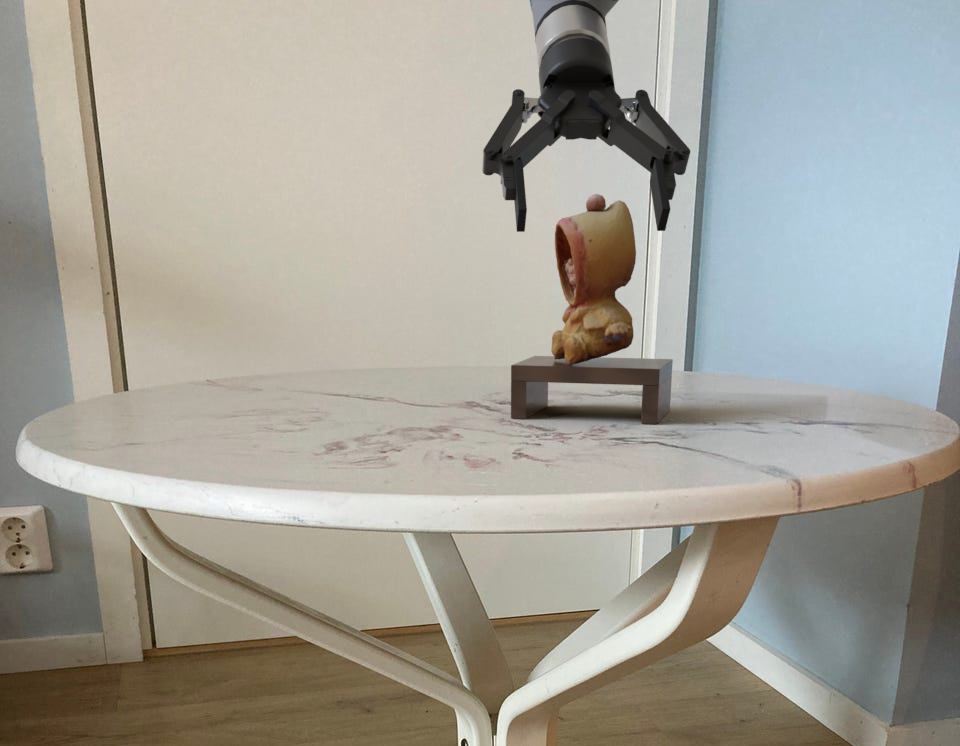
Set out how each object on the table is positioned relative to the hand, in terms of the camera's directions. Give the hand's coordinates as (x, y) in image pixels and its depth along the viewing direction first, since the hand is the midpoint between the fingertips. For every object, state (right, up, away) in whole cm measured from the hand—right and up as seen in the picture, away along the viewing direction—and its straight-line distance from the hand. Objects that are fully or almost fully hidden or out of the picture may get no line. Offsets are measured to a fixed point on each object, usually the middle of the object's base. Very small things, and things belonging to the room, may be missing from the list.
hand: (593, 220), depth 105 cm
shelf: (0, -18, +3) cm, 18 cm away
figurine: (0, -13, +1) cm, 13 cm away
